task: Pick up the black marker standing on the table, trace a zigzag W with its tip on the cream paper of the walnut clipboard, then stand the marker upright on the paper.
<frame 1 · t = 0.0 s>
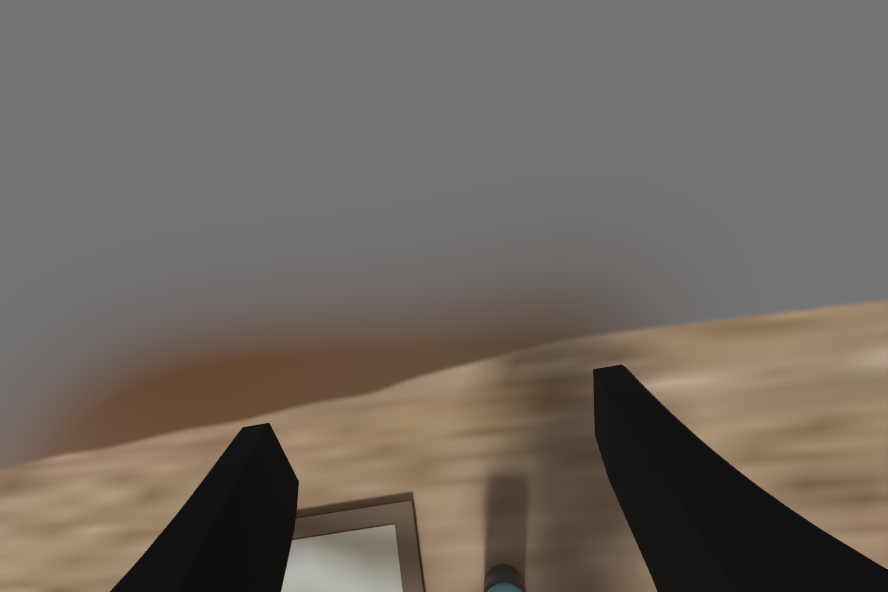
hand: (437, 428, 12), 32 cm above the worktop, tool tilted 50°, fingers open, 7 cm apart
marker: (504, 586, 40), on the worktop
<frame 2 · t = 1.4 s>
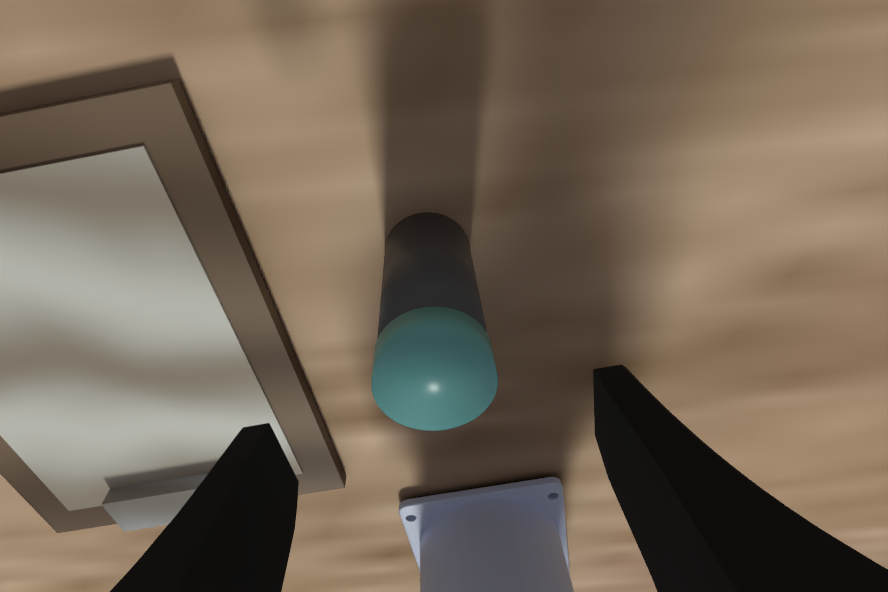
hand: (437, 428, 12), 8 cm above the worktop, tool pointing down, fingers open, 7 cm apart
marker: (427, 251, 19), on the worktop
clipboard: (107, 355, 21), on the worktop
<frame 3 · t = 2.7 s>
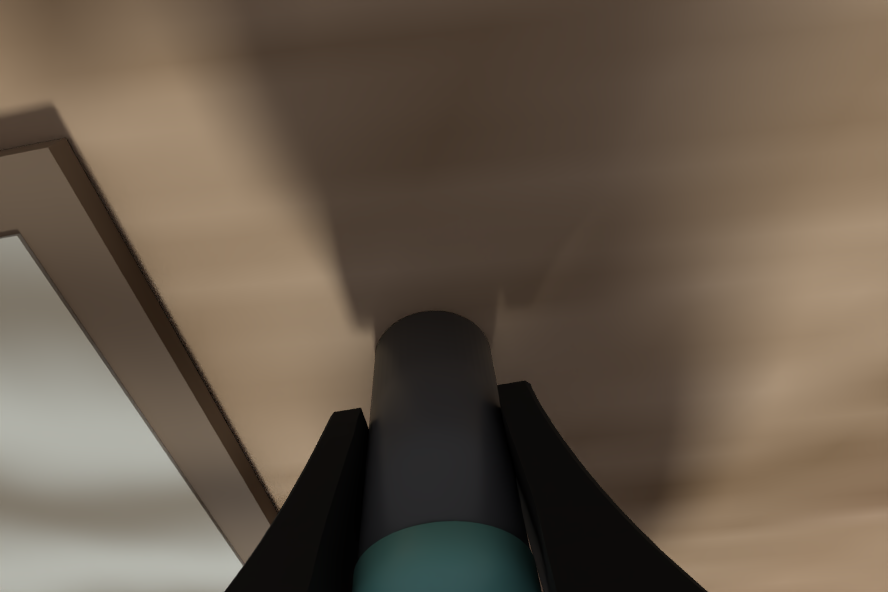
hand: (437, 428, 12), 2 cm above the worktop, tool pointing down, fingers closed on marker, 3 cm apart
marker: (433, 358, 14), on the worktop, touching gripper
clipboard: (8, 484, 16), on the worktop
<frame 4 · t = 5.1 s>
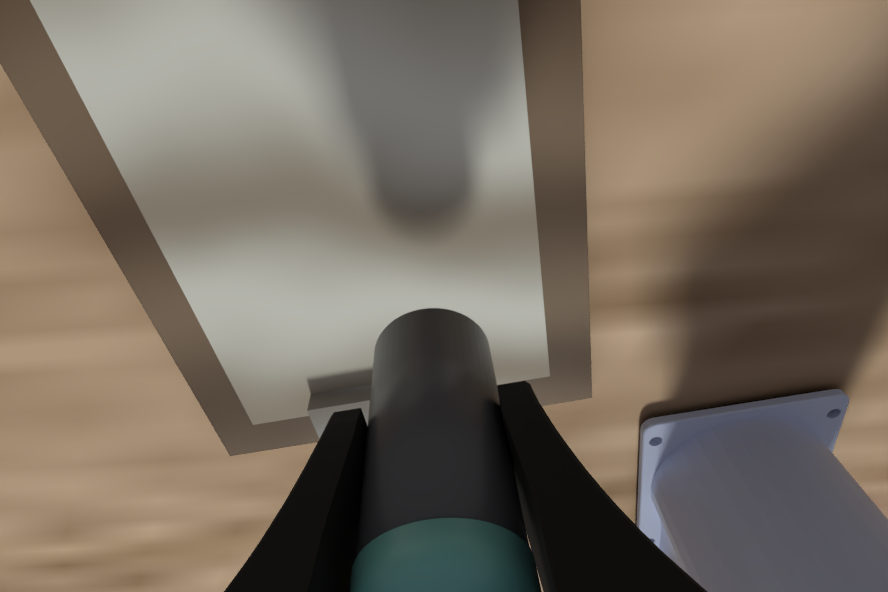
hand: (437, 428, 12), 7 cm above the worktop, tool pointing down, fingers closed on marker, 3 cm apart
marker: (432, 355, 14), point 4 cm above the worktop, touching gripper
clipboard: (345, 204, 16), on the worktop
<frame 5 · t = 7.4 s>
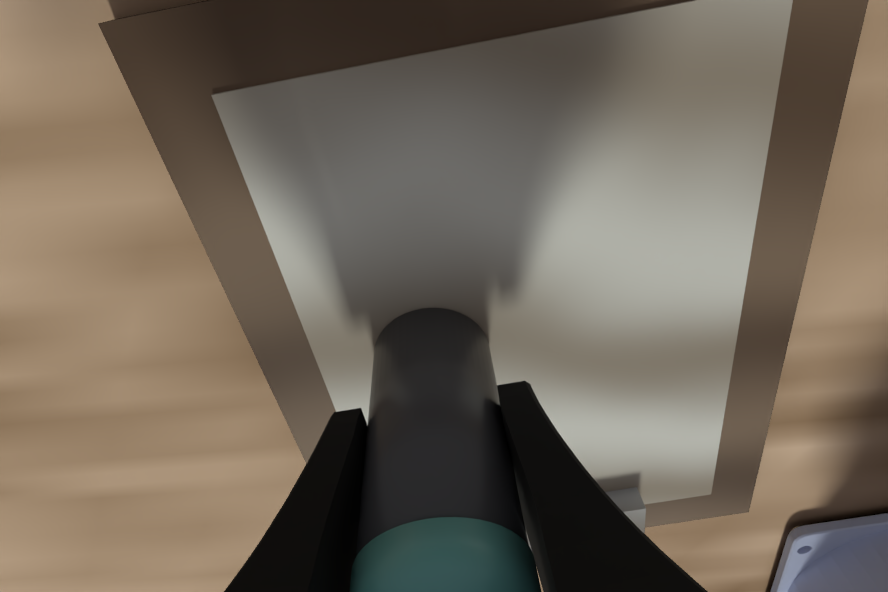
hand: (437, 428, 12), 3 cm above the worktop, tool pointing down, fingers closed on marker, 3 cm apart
marker: (432, 355, 14), point 1 cm above the worktop, touching gripper
clipboard: (524, 332, 15), on the worktop
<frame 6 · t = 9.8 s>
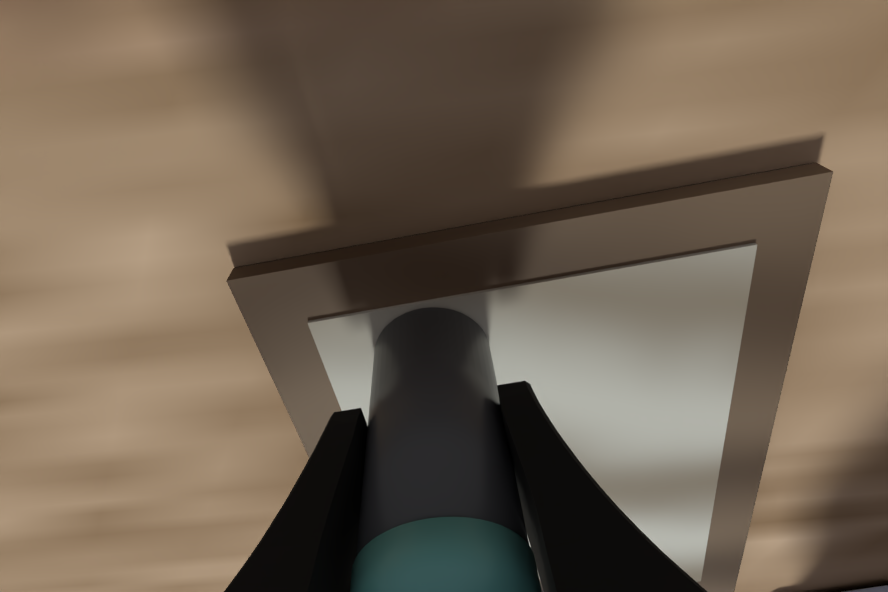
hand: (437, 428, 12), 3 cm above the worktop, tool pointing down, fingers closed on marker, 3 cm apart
marker: (432, 355, 14), point 1 cm above the worktop, touching gripper
clipboard: (543, 463, 18), on the worktop
when the fingers open (4 cm above the worktop, at t = 12.0 s): marker stays where it is, resting on clipboard.
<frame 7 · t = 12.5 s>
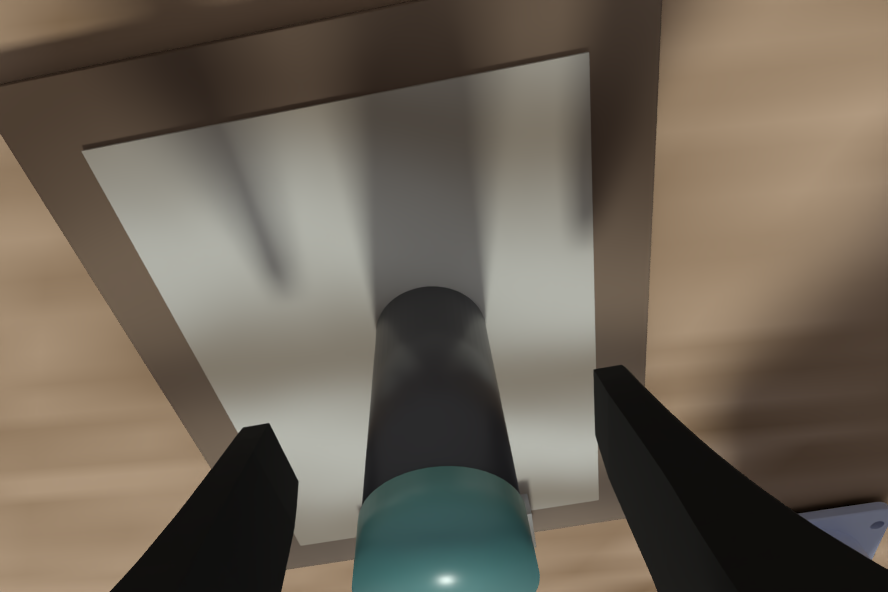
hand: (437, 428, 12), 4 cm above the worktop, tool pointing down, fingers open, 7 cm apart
marker: (431, 332, 15), point 1 cm above the worktop, touching clipboard
clipboard: (404, 353, 16), on the worktop
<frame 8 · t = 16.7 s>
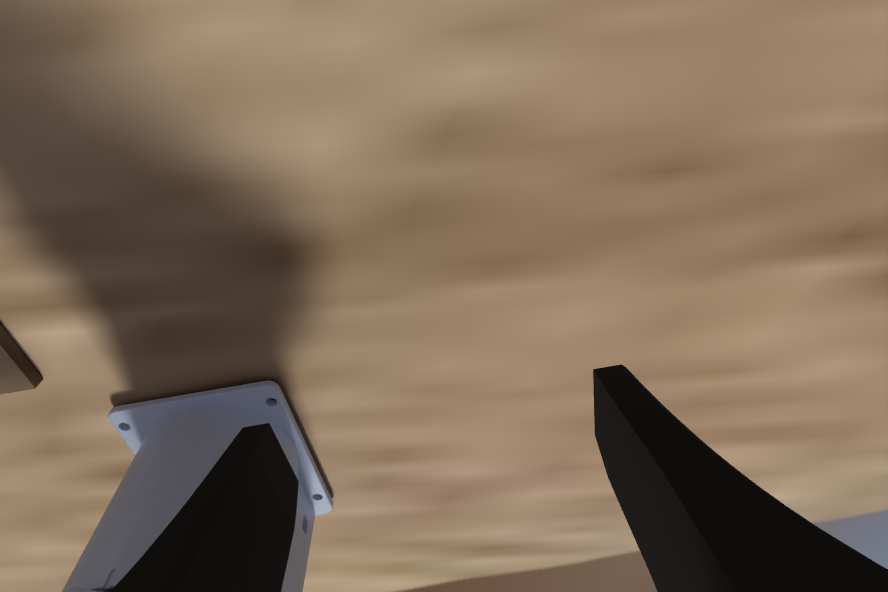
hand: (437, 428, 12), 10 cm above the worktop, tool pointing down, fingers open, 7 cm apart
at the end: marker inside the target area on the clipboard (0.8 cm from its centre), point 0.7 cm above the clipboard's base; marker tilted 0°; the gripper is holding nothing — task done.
